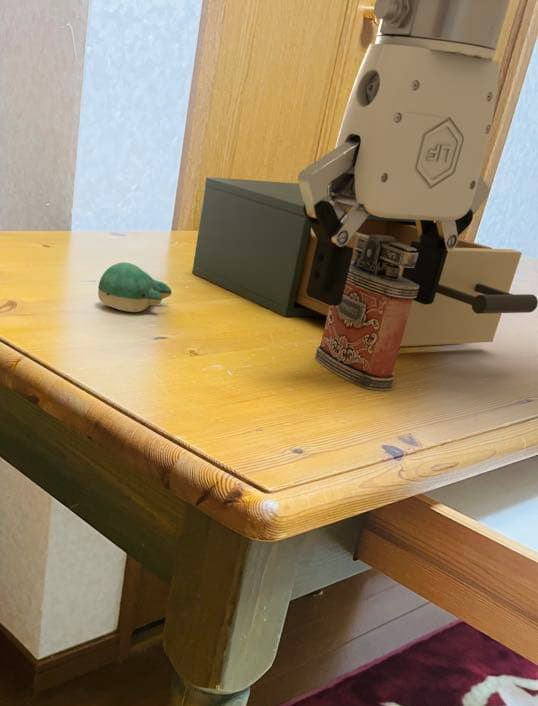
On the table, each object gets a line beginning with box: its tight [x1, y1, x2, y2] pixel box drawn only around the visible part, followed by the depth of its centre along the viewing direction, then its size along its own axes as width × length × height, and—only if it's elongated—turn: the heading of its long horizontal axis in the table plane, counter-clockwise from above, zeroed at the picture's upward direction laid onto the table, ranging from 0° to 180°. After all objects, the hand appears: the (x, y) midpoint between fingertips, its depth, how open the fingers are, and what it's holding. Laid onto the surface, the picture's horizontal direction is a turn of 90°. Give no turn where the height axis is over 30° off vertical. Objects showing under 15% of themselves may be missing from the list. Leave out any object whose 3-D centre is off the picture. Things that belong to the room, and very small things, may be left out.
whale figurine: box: [97, 262, 172, 313], centre depth 74 cm, size 6×7×4 cm
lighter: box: [314, 235, 419, 391], centre depth 62 cm, size 8×3×10 cm, turn 22°
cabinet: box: [191, 176, 416, 318], centre depth 85 cm, size 17×15×10 cm
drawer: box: [295, 219, 538, 347], centre depth 74 cm, size 21×13×8 cm, turn 28°
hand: (370, 299), depth 62 cm, fingers open, 8 cm apart
